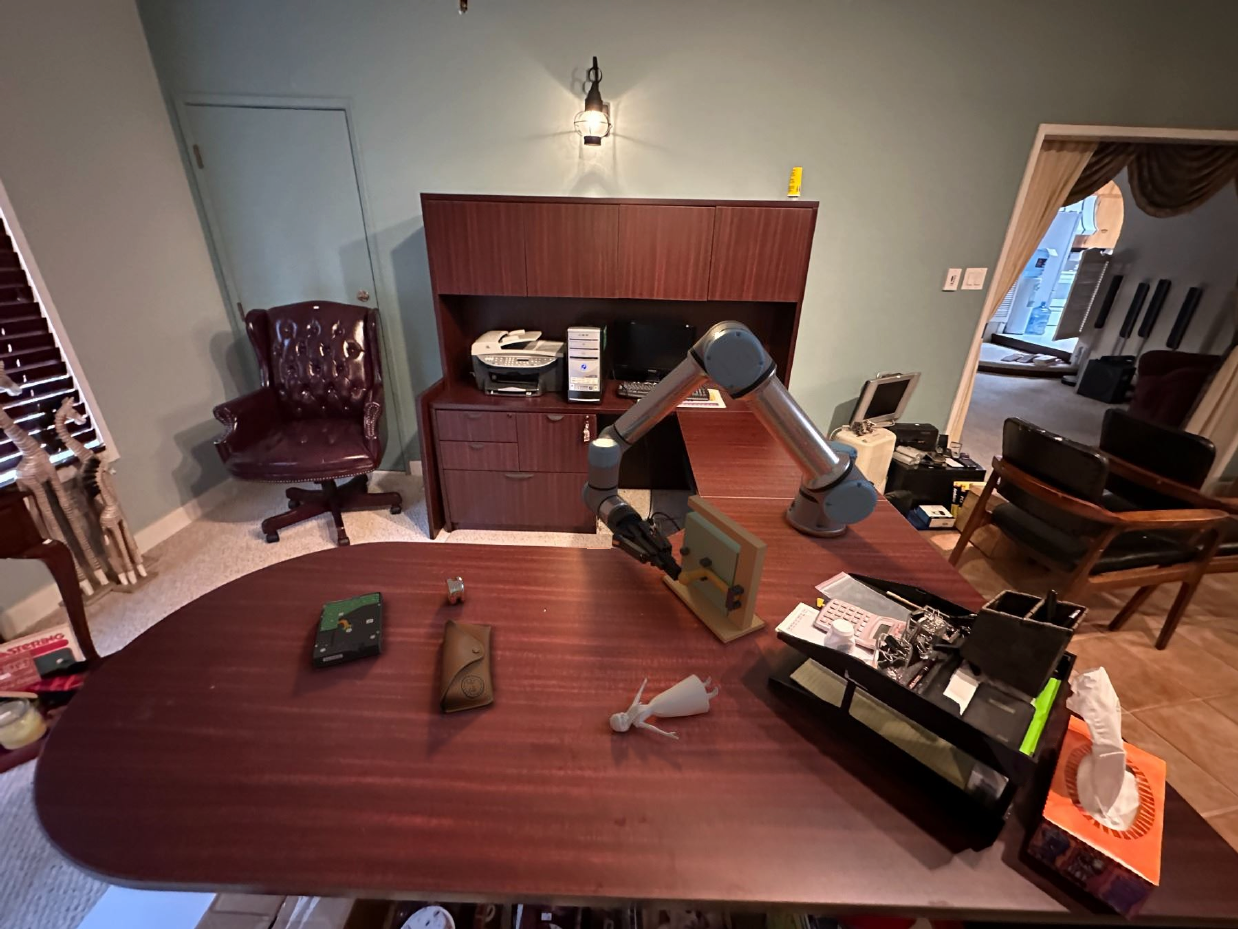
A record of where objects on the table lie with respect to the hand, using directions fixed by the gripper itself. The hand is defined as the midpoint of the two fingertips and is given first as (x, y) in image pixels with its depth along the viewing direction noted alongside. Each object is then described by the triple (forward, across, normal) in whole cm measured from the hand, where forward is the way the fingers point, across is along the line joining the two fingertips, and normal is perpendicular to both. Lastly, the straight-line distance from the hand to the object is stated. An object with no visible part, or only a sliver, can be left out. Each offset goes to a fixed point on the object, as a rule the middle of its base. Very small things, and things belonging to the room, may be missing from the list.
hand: (678, 574), depth 98 cm
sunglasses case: (-3, +41, -8) cm, 42 cm away
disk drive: (-20, +58, -8) cm, 62 cm away
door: (+2, -8, -8) cm, 11 cm away
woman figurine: (+20, +16, -8) cm, 27 cm away
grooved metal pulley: (-21, +39, -8) cm, 45 cm away
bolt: (+5, -3, -1) cm, 6 cm away
